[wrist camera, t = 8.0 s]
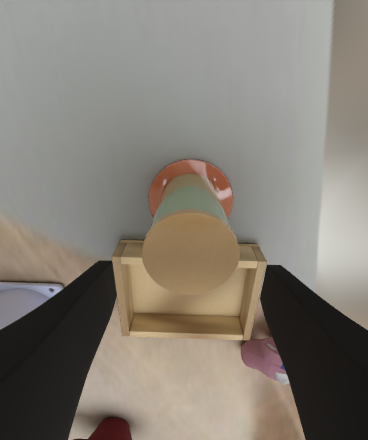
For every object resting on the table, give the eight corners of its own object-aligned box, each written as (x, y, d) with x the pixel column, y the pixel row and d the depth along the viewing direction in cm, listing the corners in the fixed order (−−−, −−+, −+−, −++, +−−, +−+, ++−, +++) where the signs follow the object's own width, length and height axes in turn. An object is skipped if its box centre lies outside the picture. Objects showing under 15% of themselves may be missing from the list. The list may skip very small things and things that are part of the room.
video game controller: (324, 333, 27) (382, 373, 20) (315, 372, 27) (370, 426, 20) (244, 315, 26) (275, 350, 19) (234, 355, 26) (262, 405, 19)
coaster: (150, 235, 20) (150, 237, 19) (147, 157, 17) (146, 158, 17) (227, 237, 20) (228, 240, 19) (236, 160, 17) (237, 161, 17)
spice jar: (160, 228, 19) (144, 293, 12) (158, 171, 17) (138, 211, 10) (218, 230, 19) (233, 296, 12) (223, 172, 17) (246, 214, 10)
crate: (128, 314, 24) (122, 336, 22) (120, 239, 20) (111, 256, 18) (244, 318, 24) (250, 340, 22) (258, 243, 20) (267, 261, 18)
